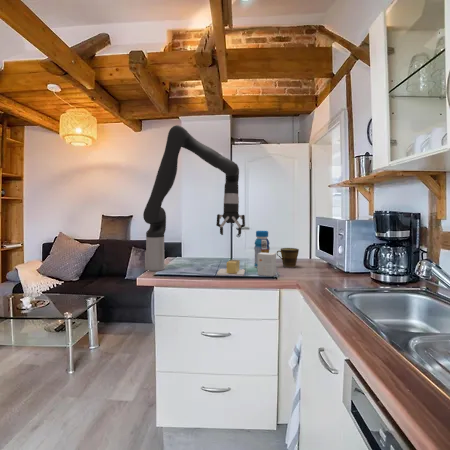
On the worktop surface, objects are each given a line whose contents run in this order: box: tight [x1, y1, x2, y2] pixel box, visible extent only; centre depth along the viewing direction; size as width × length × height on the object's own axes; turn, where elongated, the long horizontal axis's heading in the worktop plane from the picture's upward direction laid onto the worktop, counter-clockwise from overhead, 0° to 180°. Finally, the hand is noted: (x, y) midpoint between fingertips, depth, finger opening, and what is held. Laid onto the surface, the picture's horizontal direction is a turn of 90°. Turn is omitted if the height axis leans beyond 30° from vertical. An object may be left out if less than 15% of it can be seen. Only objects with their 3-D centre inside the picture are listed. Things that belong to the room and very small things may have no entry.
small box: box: [257, 252, 277, 277], centre depth 146 cm, size 8×6×10 cm
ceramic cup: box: [276, 247, 300, 269], centre depth 167 cm, size 13×10×10 cm
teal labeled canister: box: [253, 230, 271, 269], centre depth 166 cm, size 8×8×20 cm
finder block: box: [226, 259, 241, 273], centre depth 150 cm, size 5×9×5 cm, turn 165°
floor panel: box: [216, 268, 246, 277], centre depth 150 cm, size 13×12×1 cm
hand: (230, 235), depth 151 cm, fingers open, 8 cm apart
